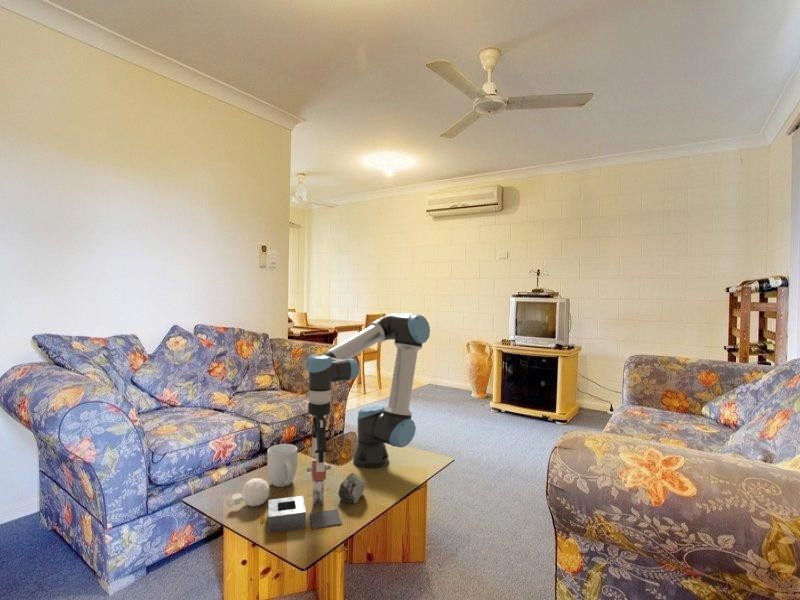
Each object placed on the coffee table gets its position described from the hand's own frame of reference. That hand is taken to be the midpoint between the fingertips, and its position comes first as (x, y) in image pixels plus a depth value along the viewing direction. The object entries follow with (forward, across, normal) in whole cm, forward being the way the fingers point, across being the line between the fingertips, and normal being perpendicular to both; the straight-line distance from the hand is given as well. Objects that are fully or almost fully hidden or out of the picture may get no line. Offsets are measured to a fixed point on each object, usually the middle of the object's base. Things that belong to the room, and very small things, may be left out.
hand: (317, 463), depth 148 cm
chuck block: (+14, +9, -10) cm, 20 cm away
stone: (+14, +1, +12) cm, 19 cm away
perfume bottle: (+14, -5, -22) cm, 26 cm away
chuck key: (+14, 0, 0) cm, 14 cm away
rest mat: (+14, +11, +2) cm, 18 cm away
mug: (+14, -18, -10) cm, 25 cm away
